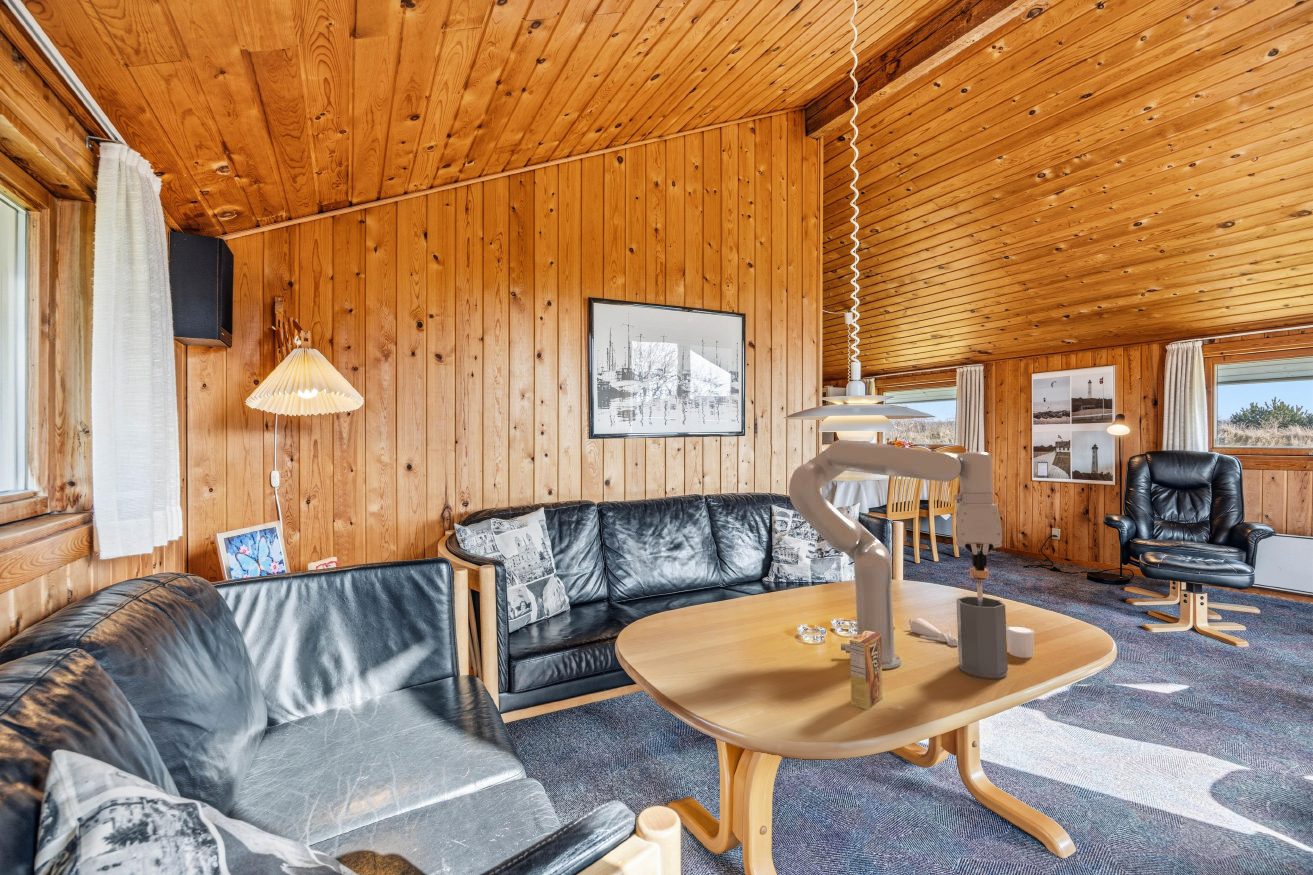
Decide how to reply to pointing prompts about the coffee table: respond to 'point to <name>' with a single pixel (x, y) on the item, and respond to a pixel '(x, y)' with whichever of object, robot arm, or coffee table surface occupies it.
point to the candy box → (866, 669)
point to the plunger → (979, 582)
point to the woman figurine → (931, 632)
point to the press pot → (982, 638)
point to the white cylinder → (1020, 641)
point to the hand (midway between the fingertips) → (979, 569)
